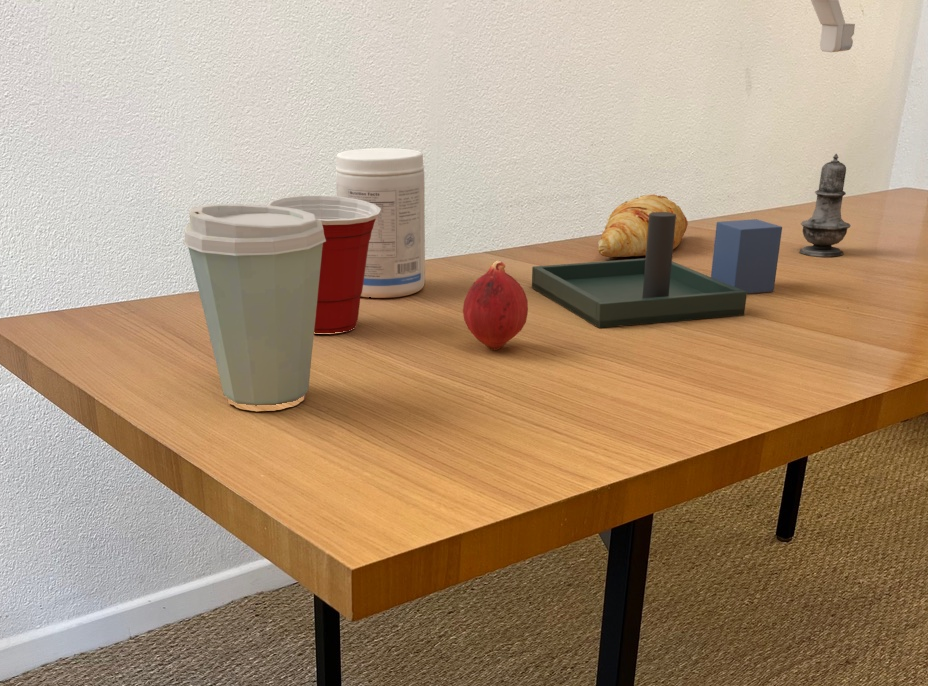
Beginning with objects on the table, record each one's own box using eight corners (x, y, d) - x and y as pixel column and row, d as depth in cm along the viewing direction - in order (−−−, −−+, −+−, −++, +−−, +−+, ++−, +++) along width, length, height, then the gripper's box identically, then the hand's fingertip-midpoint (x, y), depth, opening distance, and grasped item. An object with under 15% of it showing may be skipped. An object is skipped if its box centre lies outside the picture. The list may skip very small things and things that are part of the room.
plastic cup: (334, 350, 96) (328, 216, 91) (250, 331, 102) (240, 205, 97) (406, 324, 104) (404, 200, 99) (324, 309, 110) (319, 190, 105)
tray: (660, 277, 122) (668, 190, 118) (744, 315, 106) (756, 215, 102) (531, 287, 118) (534, 197, 114) (598, 328, 102) (605, 225, 98)
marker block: (749, 282, 119) (756, 219, 116) (774, 291, 115) (782, 226, 112) (709, 285, 118) (716, 221, 115) (733, 295, 114) (741, 229, 111)
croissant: (621, 293, 129) (653, 238, 124) (559, 246, 132) (588, 191, 127) (693, 259, 144) (725, 209, 139) (637, 218, 147) (665, 168, 142)
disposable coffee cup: (311, 373, 90) (301, 193, 84) (353, 412, 81) (345, 213, 75) (188, 389, 86) (168, 202, 80) (217, 432, 77) (197, 225, 71)
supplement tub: (350, 279, 123) (345, 147, 117) (431, 281, 121) (430, 147, 115) (332, 299, 114) (325, 157, 108) (418, 301, 113) (416, 157, 106)
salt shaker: (831, 259, 130) (847, 157, 125) (788, 252, 134) (801, 153, 129) (854, 252, 133) (870, 153, 128) (811, 246, 137) (825, 149, 132)
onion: (510, 362, 92) (512, 271, 89) (452, 353, 95) (452, 264, 92) (536, 345, 97) (539, 258, 94) (480, 337, 100) (481, 252, 96)
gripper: (1014, -181, 75) (977, 29, 82) (763, -168, 71) (745, 54, 78) (1087, -192, 70) (1041, 34, 77) (821, -178, 65) (796, 61, 72)
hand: (891, 45), depth 77 cm, fingers open, 8 cm apart
